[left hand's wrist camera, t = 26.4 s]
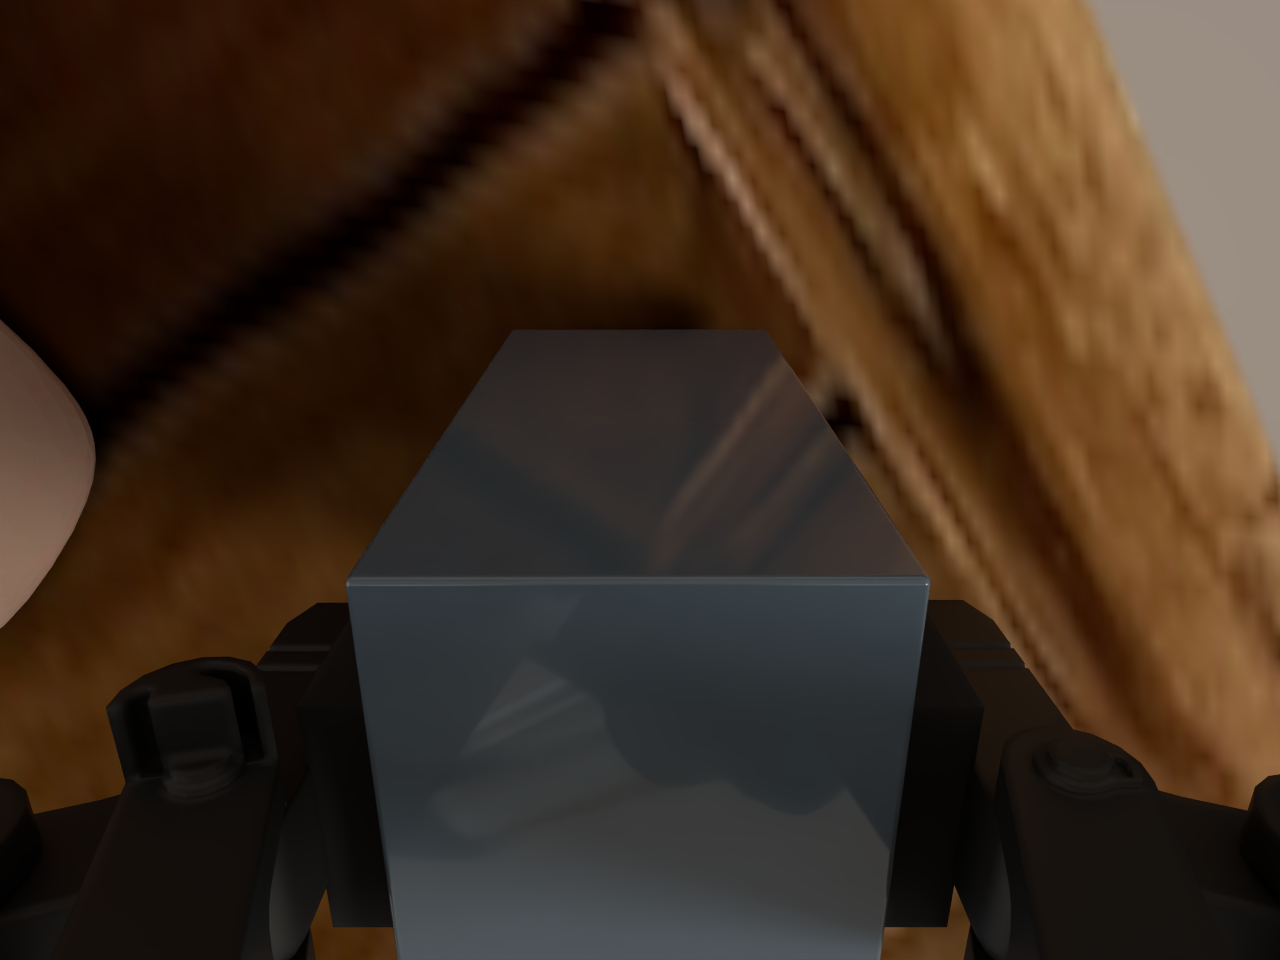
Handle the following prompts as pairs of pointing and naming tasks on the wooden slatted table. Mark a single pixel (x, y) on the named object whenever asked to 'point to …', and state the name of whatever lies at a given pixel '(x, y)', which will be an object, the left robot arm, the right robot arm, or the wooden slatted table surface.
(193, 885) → the left robot arm
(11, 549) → the anatomical model
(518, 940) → the brick
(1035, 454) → the wooden slatted table surface
